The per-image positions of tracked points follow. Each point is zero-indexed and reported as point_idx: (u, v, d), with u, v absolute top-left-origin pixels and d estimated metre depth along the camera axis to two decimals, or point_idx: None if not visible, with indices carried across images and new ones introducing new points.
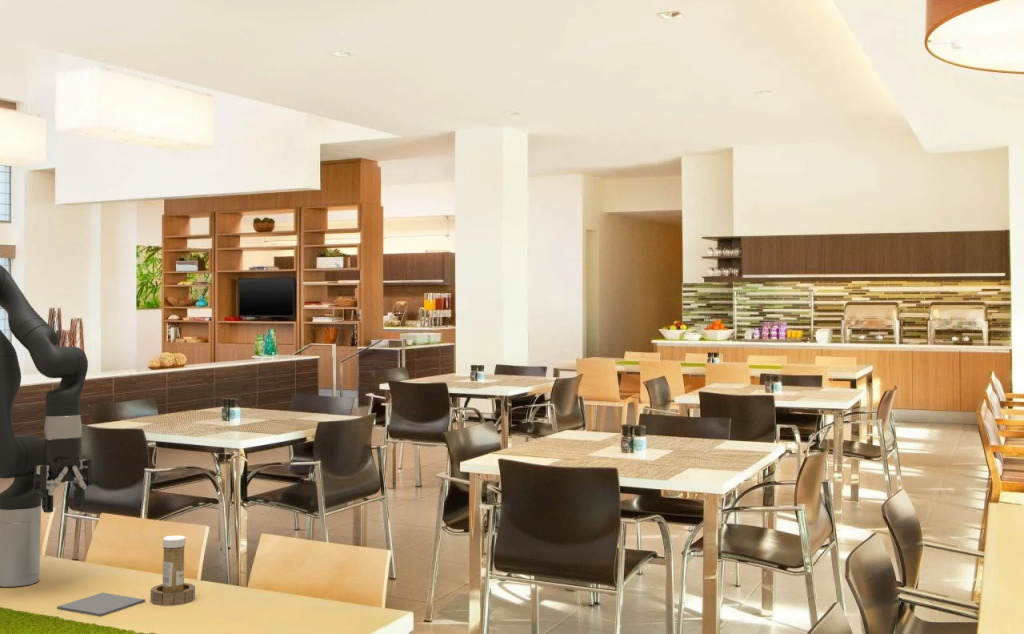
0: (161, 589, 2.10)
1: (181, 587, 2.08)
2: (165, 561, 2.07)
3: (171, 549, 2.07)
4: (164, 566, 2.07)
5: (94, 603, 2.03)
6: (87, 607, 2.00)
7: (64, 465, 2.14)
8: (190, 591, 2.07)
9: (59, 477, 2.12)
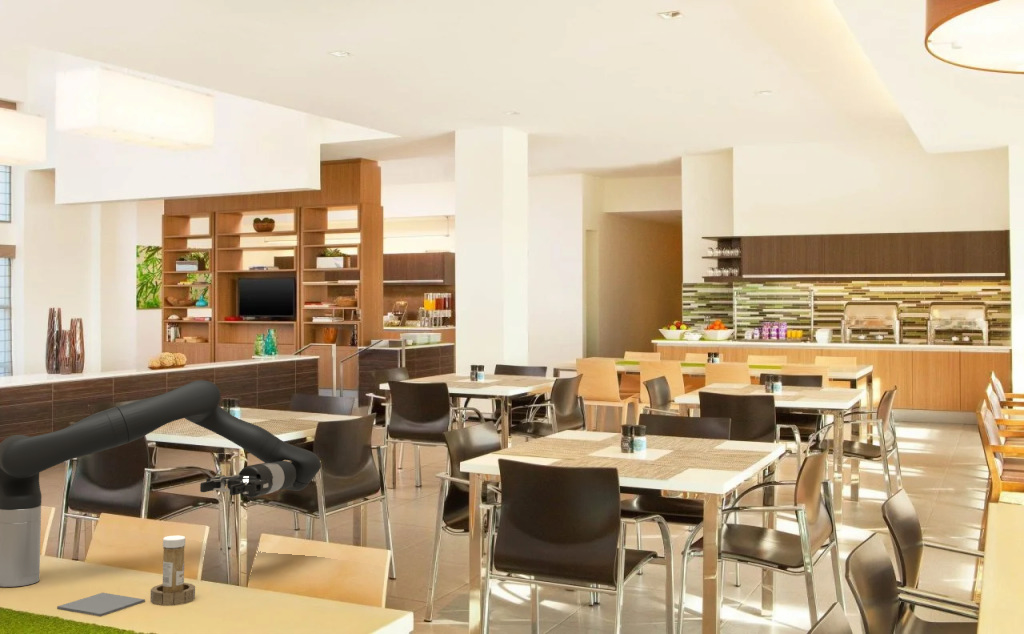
0: (161, 589, 2.10)
1: (181, 587, 2.08)
2: (165, 561, 2.07)
3: (171, 549, 2.07)
4: (164, 566, 2.07)
5: (94, 603, 2.03)
6: (87, 607, 2.00)
7: None
8: (190, 591, 2.07)
9: None
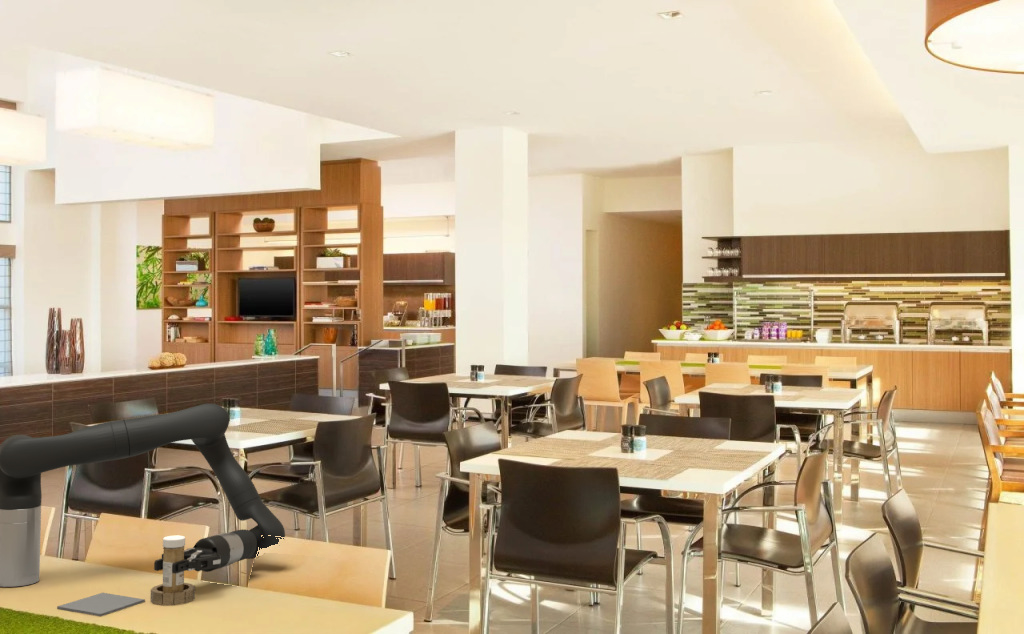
0: (161, 589, 2.10)
1: (181, 587, 2.08)
2: (165, 561, 2.07)
3: (171, 549, 2.07)
4: (164, 566, 2.07)
5: (94, 603, 2.03)
6: (87, 607, 2.00)
7: None
8: (190, 591, 2.07)
9: None
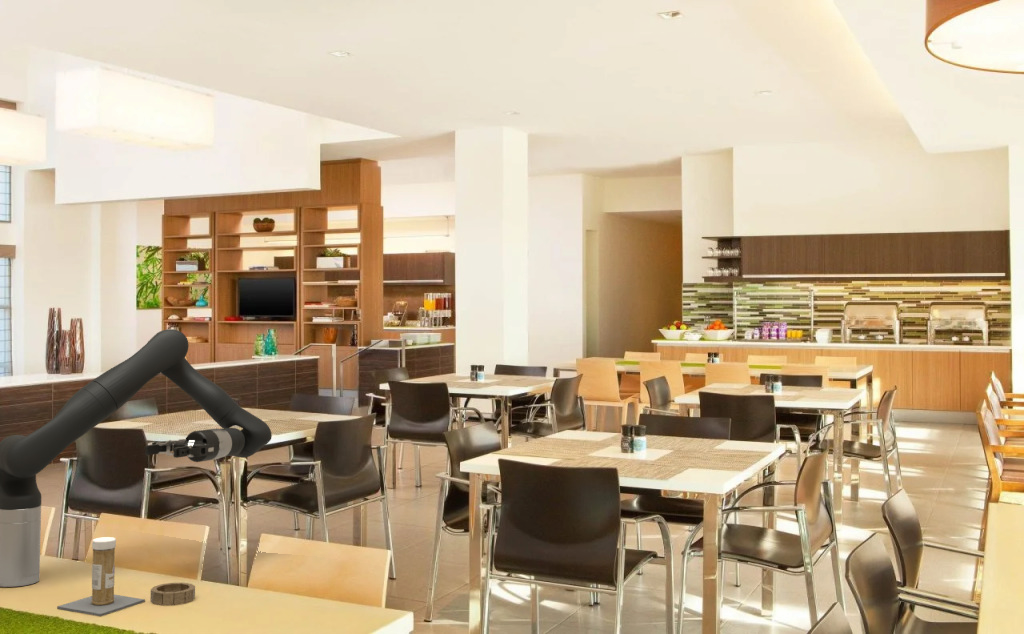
0: (161, 589, 2.10)
1: (111, 590, 2.03)
2: (94, 563, 2.02)
3: (100, 551, 2.02)
4: (93, 568, 2.02)
5: None
6: (87, 607, 2.00)
7: None
8: (190, 591, 2.07)
9: (192, 456, 2.28)
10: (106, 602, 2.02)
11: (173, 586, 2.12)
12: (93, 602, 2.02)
